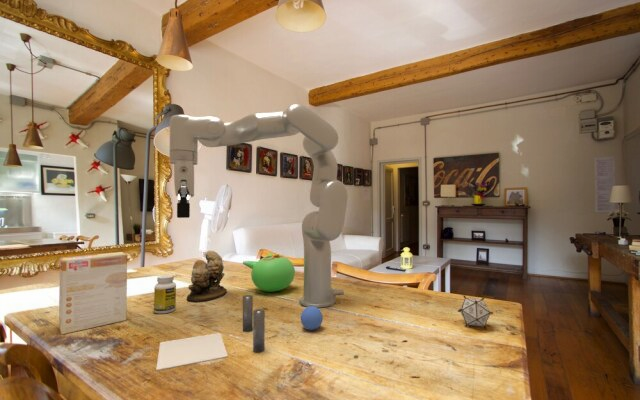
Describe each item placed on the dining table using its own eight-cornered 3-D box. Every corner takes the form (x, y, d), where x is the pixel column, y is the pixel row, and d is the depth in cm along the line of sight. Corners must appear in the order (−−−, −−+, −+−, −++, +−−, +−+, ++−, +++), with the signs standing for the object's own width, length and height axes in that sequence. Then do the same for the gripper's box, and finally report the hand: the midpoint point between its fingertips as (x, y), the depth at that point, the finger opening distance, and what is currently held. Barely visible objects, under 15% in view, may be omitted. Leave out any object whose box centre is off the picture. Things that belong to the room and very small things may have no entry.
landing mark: (220, 333, 81) (220, 332, 81) (227, 356, 68) (227, 355, 68) (160, 343, 75) (160, 342, 75) (156, 370, 63) (156, 369, 63)
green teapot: (273, 299, 112) (273, 258, 112) (240, 292, 121) (240, 254, 121) (302, 288, 127) (302, 252, 127) (271, 283, 136) (271, 249, 136)
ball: (317, 323, 88) (317, 302, 88) (326, 331, 83) (326, 308, 83) (297, 326, 86) (297, 304, 86) (305, 334, 80) (305, 311, 80)
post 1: (251, 327, 85) (251, 294, 86) (253, 330, 83) (253, 296, 83) (241, 328, 84) (242, 295, 84) (243, 332, 82) (243, 298, 82)
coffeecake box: (121, 314, 96) (122, 251, 96) (127, 320, 91) (128, 253, 91) (57, 327, 85) (59, 256, 86) (60, 335, 80) (62, 259, 81)
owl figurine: (208, 288, 127) (209, 247, 127) (234, 291, 124) (235, 248, 124) (178, 301, 109) (179, 252, 110) (207, 304, 106) (208, 254, 107)
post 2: (263, 346, 73) (263, 308, 74) (265, 351, 71) (265, 311, 71) (252, 348, 72) (252, 309, 73) (254, 353, 70) (254, 313, 70)
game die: (478, 338, 87) (497, 308, 88) (483, 338, 80) (503, 305, 81) (449, 317, 91) (467, 289, 93) (450, 315, 84) (470, 285, 85)
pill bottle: (166, 315, 95) (167, 278, 96) (149, 313, 97) (149, 278, 97) (179, 308, 101) (180, 274, 102) (163, 307, 103) (163, 273, 103)
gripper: (198, 154, 84) (198, 217, 84) (196, 163, 100) (196, 216, 100) (168, 152, 81) (167, 218, 81) (170, 161, 97) (170, 216, 96)
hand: (183, 217), depth 90 cm, fingers open, 9 cm apart
